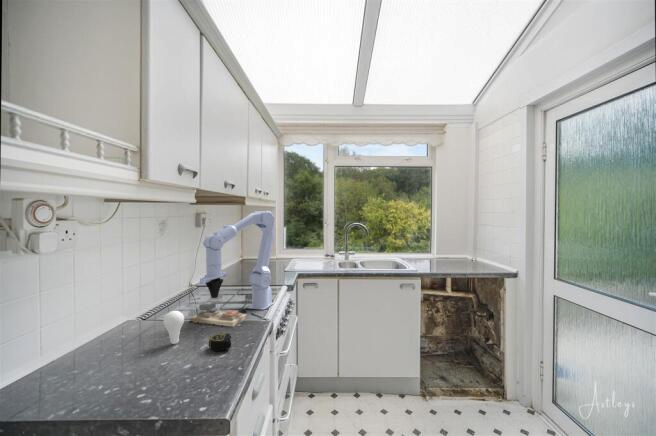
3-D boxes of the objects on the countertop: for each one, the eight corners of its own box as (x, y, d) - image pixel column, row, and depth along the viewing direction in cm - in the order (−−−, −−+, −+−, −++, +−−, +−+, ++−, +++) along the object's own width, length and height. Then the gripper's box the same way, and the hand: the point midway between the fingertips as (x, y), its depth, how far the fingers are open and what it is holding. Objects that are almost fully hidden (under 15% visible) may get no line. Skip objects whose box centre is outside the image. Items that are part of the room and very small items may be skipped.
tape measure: (231, 351, 94) (231, 339, 94) (208, 355, 92) (207, 343, 92) (231, 342, 101) (231, 331, 101) (209, 345, 99) (209, 334, 99)
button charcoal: (206, 306, 126) (206, 301, 126) (215, 307, 125) (215, 302, 125) (199, 309, 122) (199, 304, 122) (208, 310, 121) (208, 305, 121)
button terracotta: (229, 314, 123) (229, 309, 123) (238, 315, 122) (238, 310, 122) (222, 318, 119) (222, 313, 119) (232, 319, 118) (231, 314, 118)
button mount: (207, 313, 130) (206, 307, 130) (247, 317, 124) (247, 311, 124) (190, 321, 120) (189, 315, 120) (232, 326, 114) (232, 320, 114)
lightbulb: (179, 348, 97) (178, 314, 97) (160, 348, 97) (159, 314, 97) (188, 339, 103) (187, 308, 103) (170, 340, 103) (169, 308, 103)
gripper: (216, 261, 130) (217, 292, 130) (192, 267, 116) (193, 301, 117) (230, 261, 128) (231, 293, 128) (208, 267, 114) (209, 303, 115)
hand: (214, 297), depth 122 cm, fingers closed
